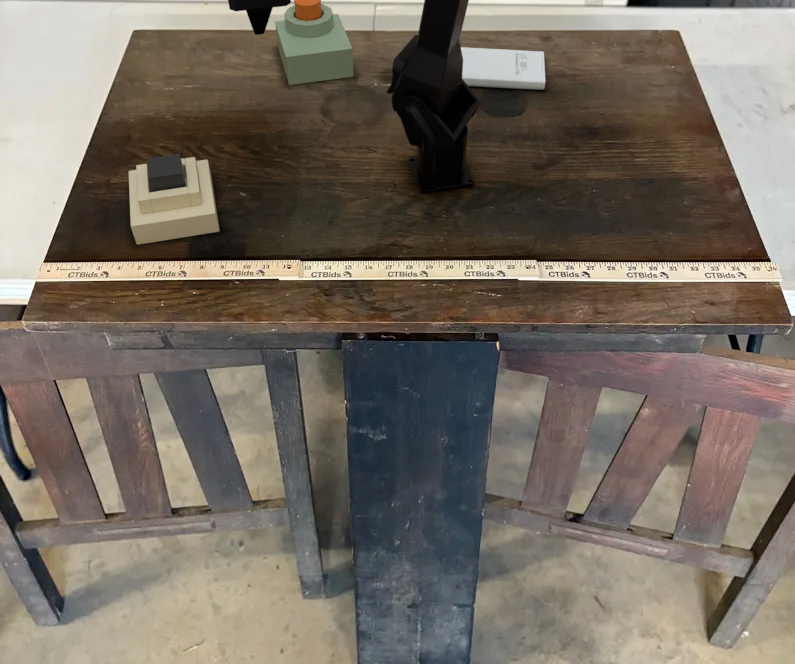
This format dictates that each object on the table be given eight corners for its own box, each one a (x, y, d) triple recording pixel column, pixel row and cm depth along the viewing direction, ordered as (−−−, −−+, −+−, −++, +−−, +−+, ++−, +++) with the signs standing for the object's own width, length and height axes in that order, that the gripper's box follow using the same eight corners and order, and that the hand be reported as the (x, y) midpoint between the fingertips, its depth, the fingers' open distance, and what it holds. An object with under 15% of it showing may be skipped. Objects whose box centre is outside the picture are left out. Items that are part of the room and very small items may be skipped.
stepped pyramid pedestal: (219, 231, 88) (212, 199, 85) (136, 245, 87) (126, 213, 83) (211, 177, 95) (204, 145, 91) (134, 189, 93) (124, 157, 90)
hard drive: (454, 56, 113) (542, 60, 112) (451, 87, 108) (544, 91, 107) (455, 45, 112) (544, 49, 111) (452, 76, 107) (545, 80, 106)
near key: (185, 188, 87) (181, 172, 85) (151, 193, 86) (147, 177, 85) (183, 168, 89) (179, 153, 88) (150, 173, 88) (146, 158, 87)
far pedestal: (353, 76, 110) (351, 35, 105) (288, 85, 108) (284, 44, 104) (338, 39, 117) (336, -2, 112) (277, 46, 115) (272, 6, 111)
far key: (324, 20, 109) (322, 3, 107) (297, 23, 108) (296, 6, 106) (319, 8, 111) (318, -9, 109) (293, 11, 110) (292, -6, 109)
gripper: (153, -141, 84) (182, 3, 96) (161, -70, 72) (193, 84, 84) (258, -149, 86) (274, -7, 98) (283, -81, 74) (298, 71, 86)
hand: (259, 32), depth 91 cm, fingers closed
